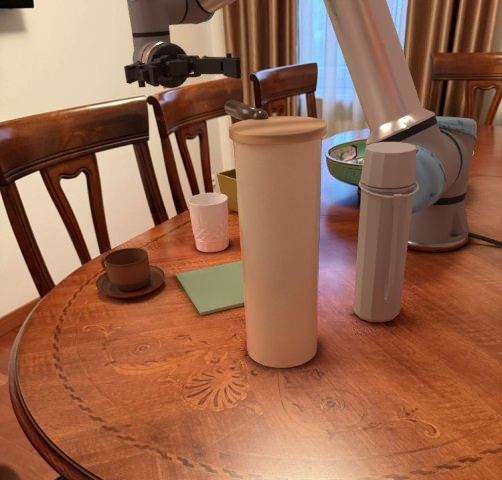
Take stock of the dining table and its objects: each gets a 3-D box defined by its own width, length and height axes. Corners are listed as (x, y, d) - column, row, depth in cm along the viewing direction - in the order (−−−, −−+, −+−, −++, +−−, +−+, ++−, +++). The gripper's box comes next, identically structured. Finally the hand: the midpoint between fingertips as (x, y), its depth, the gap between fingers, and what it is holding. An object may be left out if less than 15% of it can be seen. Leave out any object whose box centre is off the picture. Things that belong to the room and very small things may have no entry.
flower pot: (240, 218, 121) (238, 179, 116) (218, 210, 127) (215, 172, 122) (269, 209, 125) (268, 171, 120) (246, 201, 131) (244, 165, 126)
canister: (323, 333, 77) (329, 126, 61) (308, 372, 69) (311, 145, 53) (259, 325, 80) (249, 125, 64) (237, 362, 72) (220, 143, 56)
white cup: (226, 254, 103) (222, 205, 98) (188, 253, 105) (182, 204, 100) (235, 239, 110) (231, 192, 104) (199, 238, 111) (194, 192, 106)
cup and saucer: (87, 303, 88) (79, 270, 85) (112, 273, 98) (106, 242, 95) (154, 305, 87) (149, 271, 83) (173, 274, 97) (169, 242, 94)
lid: (345, 136, 56) (346, 116, 55) (250, 150, 53) (249, 129, 52) (266, 110, 73) (266, 94, 72) (191, 119, 70) (189, 103, 69)
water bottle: (345, 304, 84) (354, 143, 71) (393, 300, 84) (411, 139, 71) (360, 334, 76) (373, 159, 63) (412, 329, 76) (437, 154, 63)
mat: (291, 294, 88) (291, 291, 87) (201, 315, 83) (200, 312, 83) (255, 260, 100) (255, 257, 100) (175, 276, 96) (175, 273, 95)
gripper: (228, 80, 104) (271, 91, 87) (103, 93, 97) (123, 107, 80) (226, 37, 100) (269, 40, 83) (95, 47, 93) (114, 52, 76)
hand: (198, 73), depth 82 cm, fingers open, 13 cm apart
